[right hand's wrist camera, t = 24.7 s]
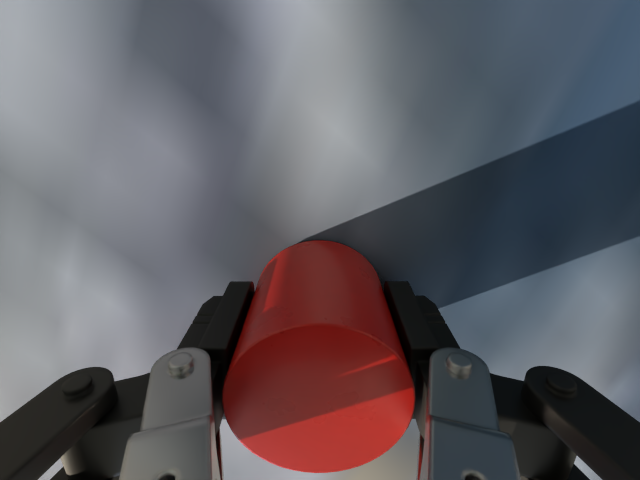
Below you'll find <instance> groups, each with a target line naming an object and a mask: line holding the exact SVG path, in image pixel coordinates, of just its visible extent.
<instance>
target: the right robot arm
mask: <svg viewBox="0 0 640 480" xmlns="http://www.w3.org/2000/svg"><path fill="white" fill-rule="evenodd" d="M254 293H255V291H254V284H253V282H230V283H229V285H228V287H227V289H226V291H225V293H224V295H223V296H213V297H212V298H211V299H209V300H208V301H207V302H205V303H204V304H203V305H202V307H201V308H200V310H199V312H198V314H197V316H196V317H195V319H194V320H193V324H191V326H190V327H189V329H188V331H187V333H186V334H185V336H184V338H183V340H182V341H181V343H180V345H179V346H178V348H177V350H174V351H171V352H169V353H167V354H165V355H164V356H162V357H161V358H159V359H158V360H157V361H156V362H155V364H154V365H153V367H152V369H151V372H150V373H147V374H145V375H141V376H137V377H133V378H128V379H124V380H119V381H115V382H114V378H113V375H112V373H111V371H109V370H108V369H106V368H102V367H90V368H84V369H81V370H77V371H75V372H72V373H70V374H68V375H66V376H64V377H62V378H60V379H59V380H57V381H56V382H54V383H53V384H52V385H50V386H49V387H48V388H46V389H45V390H44V391H42V392H41V393H40V394H38V395H37V396H35V397H34V398H33V399H31V400H30V401H29V402H27V403H26V404H25V405H23V406H22V407H21V408H19V409H18V410H17V411H15V412H14V413H12V414H11V415H10V416H8V417H7V418H6V419H4V420H3V421H2V422H0V480H38V479H39V478H40V477H41V476H42V475H43V474H44V473H45V472H46V471H47V470H48V469H49V468H50V467H51V466H52V465H53V464H54V463H55V462H56V461H57V460H58V459H60V458H61V461H62V463H63V466H64V467H63V468H62V469H61V470H59V471H58V472H57V473H56V474H55V475H54V476H53V477H52V478H51V479H50V480H224V478H223V462H222V445H221V435H220V428H219V427H220V424H221V420H222V419H226V417H225V414H224V410H223V403H222V390H223V385H224V381H225V378H226V375H227V372H228V369H229V366H230V363H231V360H232V357H233V354H234V351H235V348H236V346H237V343H238V340H239V337H240V334H241V331H242V328H243V325H244V322H245V319H246V316H247V313H248V310H249V308H250V305H251V302H252V299H253V296H254ZM384 295H385V298H386V301H387V304H388V307H389V310H390V313H391V316H392V319H393V322H394V325H395V328H396V331H397V334H398V337H399V340H400V343H401V346H402V349H403V352H404V355H405V357H406V360H407V363H408V366H409V369H410V372H411V375H412V378H413V382H414V386H415V396H416V399H415V409H414V412H413V416H412V419H416V422H417V425H418V428H419V431H420V435H419V445H418V462H417V478H416V480H590V479H589V478H588V477H587V476H586V475H585V474H584V473H583V472H582V471H580V470H579V469H578V468H577V467H576V466H575V465H574V461H575V458H576V456H578V457H579V458H580V459H582V460H583V461H584V462H585V463H586V464H587V465H588V466H589V467H590V468H591V469H592V470H593V471H594V472H595V473H596V474H597V475H598V476H599V477H600V478H601V479H602V480H640V422H638V421H637V420H636V419H634V418H633V417H632V416H630V415H629V414H627V413H626V412H625V411H623V410H622V409H621V408H619V407H618V406H617V405H615V404H614V403H613V402H611V401H610V400H609V399H607V398H606V397H605V396H603V395H602V394H600V393H599V392H598V391H596V390H595V389H594V388H592V387H591V386H590V385H588V384H587V383H586V382H584V381H583V380H581V379H580V378H578V377H577V376H575V375H573V374H571V373H569V372H567V371H564V370H561V369H558V368H554V367H549V366H537V367H533V368H531V369H529V370H528V371H527V373H526V376H525V379H524V381H520V380H516V379H511V378H507V377H502V376H498V375H494V374H491V373H490V372H489V369H488V367H487V365H486V364H485V362H484V361H483V360H482V359H481V358H479V357H478V356H476V355H475V354H473V353H471V352H469V351H466V350H463V349H460V347H459V345H458V343H457V342H456V340H455V338H454V336H453V335H452V333H451V331H450V329H449V328H448V326H447V324H445V321H444V319H443V317H442V316H441V313H440V312H439V310H438V308H437V306H436V305H435V304H434V303H433V302H432V301H430V300H429V299H428V298H426V297H425V296H415V295H414V293H413V291H412V289H411V286H410V284H409V283H408V281H386V282H385V284H384Z"/></svg>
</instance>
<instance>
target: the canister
mask: <svg viewBox="0 0 640 480" xmlns="http://www.w3.org/2000/svg"><path fill="white" fill-rule="evenodd" d="M415 399H416V396H415V386H414V382H413V378H412V375H411V372H410V369H409V366H408V363H407V360H406V357H405V355H404V352H403V349H402V346H401V343H400V340H399V337H398V334H397V331H396V328H395V325H394V322H393V319H392V316H391V313H390V310H389V307H388V304H387V301H386V298H385V295H384V292H383V289H382V286H381V283H380V280H379V278H378V275H377V273H376V271H375V269H374V268H373V266H372V265H371V264H370V263H369V261H368V260H367V259H366V258H365V257H364V256H362V255H361V254H360V253H358V252H357V251H356V250H354V249H352V248H350V247H348V246H346V245H343V244H340V243H337V242H332V241H324V240H313V241H306V242H302V243H298V244H295V245H293V246H290V247H288V248H286V249H285V250H283V251H281V252H280V253H278V254H277V255H276V256H275V257H274V258H273V259H272V260H271V261H270V262H269V263H268V264H267V266H266V267H265V268H264V270H263V272H262V274H261V276H260V279H259V281H258V284H257V287H256V290H255V293H254V296H253V299H252V302H251V305H250V308H249V310H248V313H247V316H246V319H245V322H244V325H243V328H242V331H241V334H240V337H239V340H238V343H237V346H236V348H235V351H234V354H233V357H232V360H231V363H230V366H229V369H228V372H227V375H226V378H225V381H224V385H223V390H222V403H223V410H224V414H225V417H226V420H227V422H228V424H229V426H230V428H231V430H232V432H233V433H234V434H235V436H236V437H237V439H238V440H239V441H240V442H241V443H242V444H243V445H244V446H245V447H246V448H248V449H249V450H250V451H251V452H252V453H254V454H256V455H257V456H259V457H260V458H262V459H264V460H266V461H268V462H270V463H272V464H275V465H277V466H280V467H283V468H287V469H290V470H295V471H301V472H311V473H328V472H337V471H342V470H347V469H351V468H355V467H358V466H361V465H363V464H365V463H368V462H370V461H372V460H374V459H376V458H378V457H379V456H381V455H382V454H384V453H385V452H386V451H388V450H389V449H390V448H391V447H392V446H394V445H395V444H396V443H397V441H398V440H399V439H400V438H401V437H402V436H403V434H404V433H405V431H406V429H407V428H408V426H409V424H410V421H411V419H412V416H413V412H414V409H415Z"/></svg>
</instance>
